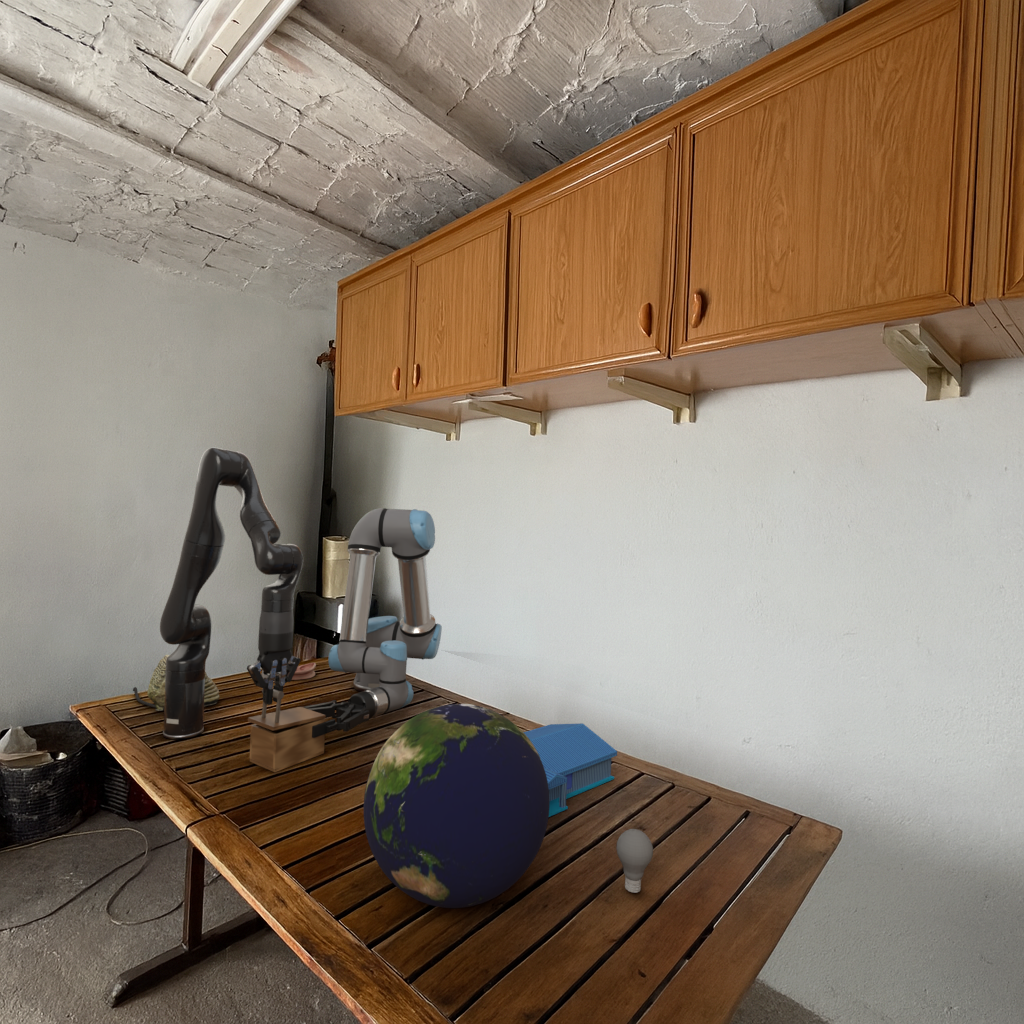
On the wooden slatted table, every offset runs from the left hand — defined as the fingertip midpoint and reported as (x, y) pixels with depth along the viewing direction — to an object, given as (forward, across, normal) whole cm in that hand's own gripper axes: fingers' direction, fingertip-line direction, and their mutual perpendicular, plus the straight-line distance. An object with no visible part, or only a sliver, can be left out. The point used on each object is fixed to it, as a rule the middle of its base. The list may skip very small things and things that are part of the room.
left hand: (272, 702), depth 148 cm
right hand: (+8, +8, 0) cm, 11 cm away
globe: (+14, -11, -65) cm, 67 cm away
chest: (+14, +5, 0) cm, 15 cm away
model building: (+14, +28, -54) cm, 62 cm away
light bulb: (+14, +7, -88) cm, 89 cm away
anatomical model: (+15, +49, +55) cm, 75 cm away
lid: (+5, +4, 0) cm, 7 cm away
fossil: (+15, +8, +53) cm, 55 cm away
